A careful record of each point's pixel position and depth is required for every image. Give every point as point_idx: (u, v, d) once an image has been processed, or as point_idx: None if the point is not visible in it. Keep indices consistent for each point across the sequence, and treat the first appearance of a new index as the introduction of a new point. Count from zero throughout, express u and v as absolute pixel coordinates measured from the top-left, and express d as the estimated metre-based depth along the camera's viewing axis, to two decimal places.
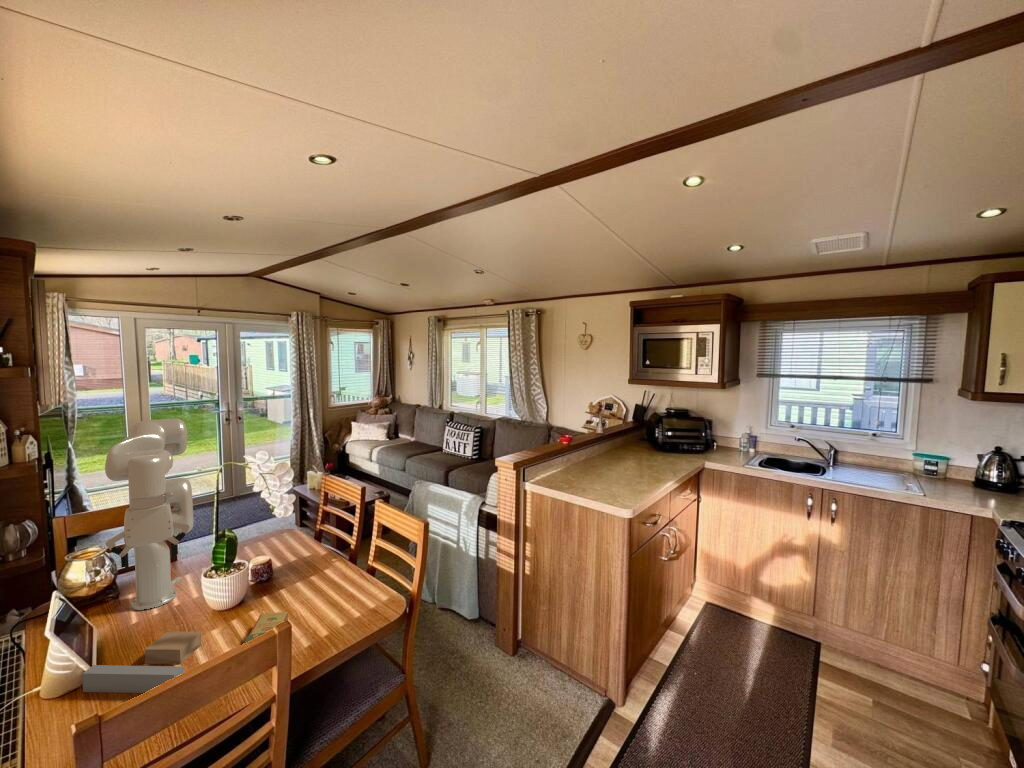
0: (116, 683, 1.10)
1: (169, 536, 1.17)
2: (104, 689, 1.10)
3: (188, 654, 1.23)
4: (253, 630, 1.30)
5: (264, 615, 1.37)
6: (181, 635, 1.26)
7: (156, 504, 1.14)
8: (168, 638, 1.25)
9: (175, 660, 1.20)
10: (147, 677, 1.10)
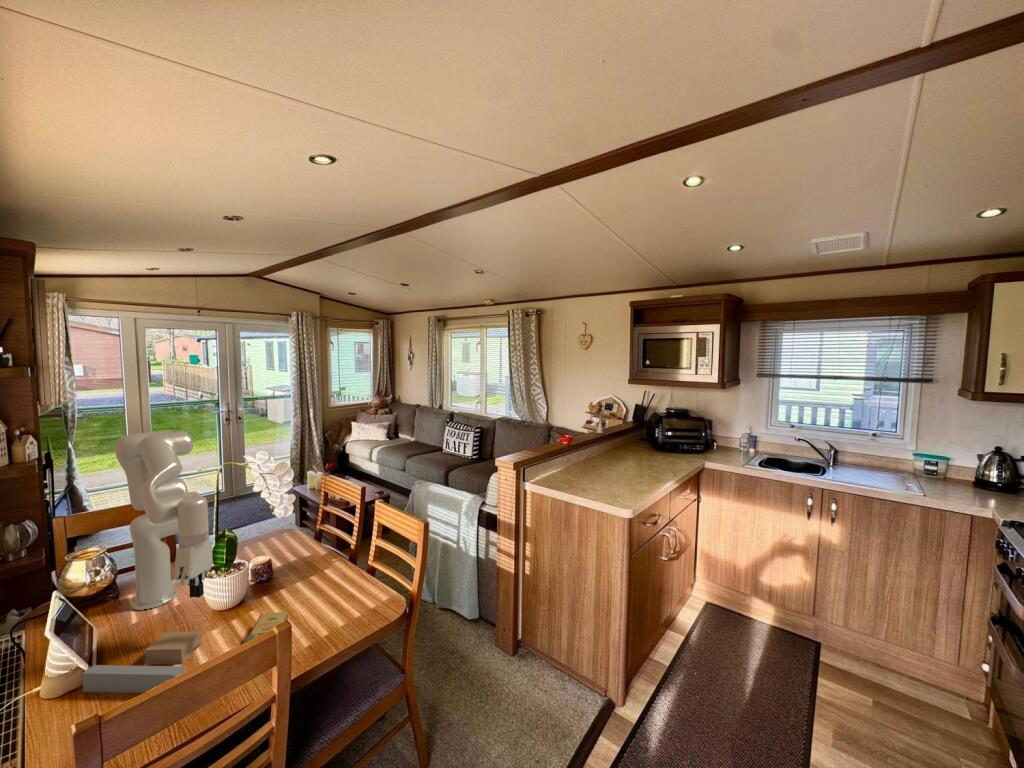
0: (116, 683, 1.10)
1: (211, 564, 1.36)
2: (104, 689, 1.10)
3: (189, 653, 1.24)
4: (253, 630, 1.30)
5: (264, 615, 1.37)
6: (181, 635, 1.26)
7: (208, 537, 1.33)
8: (167, 638, 1.25)
9: (176, 660, 1.21)
10: (147, 677, 1.10)
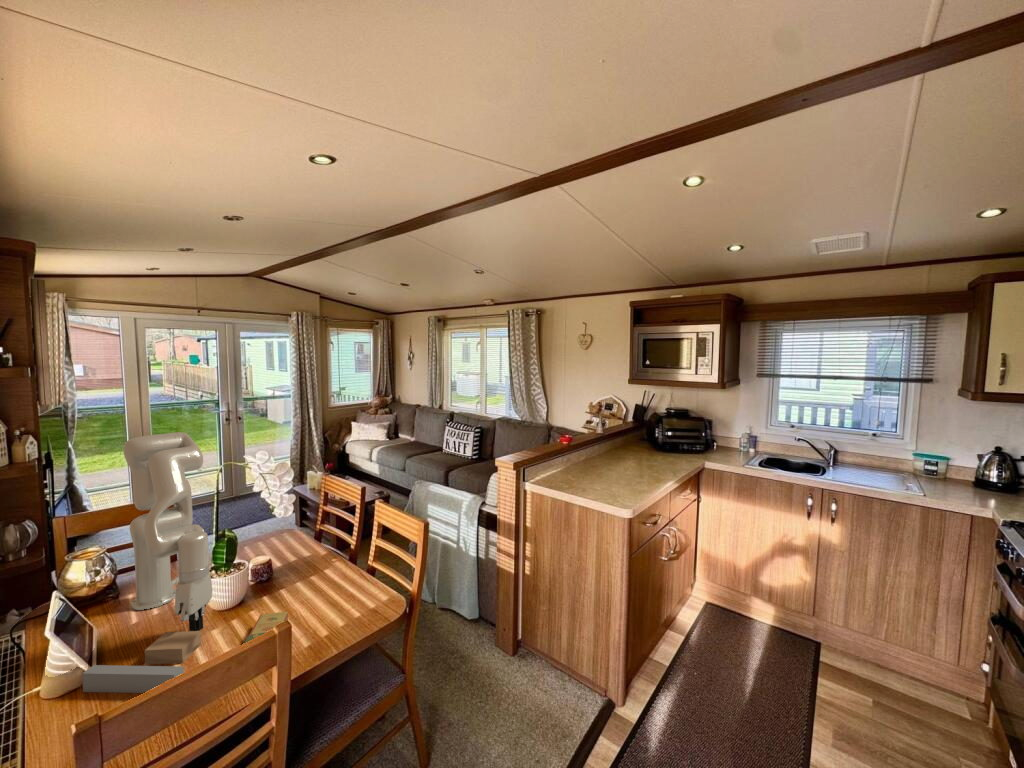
0: (116, 683, 1.10)
1: (211, 597, 1.37)
2: (104, 689, 1.10)
3: (189, 653, 1.24)
4: (253, 630, 1.30)
5: (264, 615, 1.37)
6: (181, 635, 1.26)
7: (208, 571, 1.33)
8: (167, 638, 1.25)
9: (177, 659, 1.21)
10: (147, 677, 1.10)
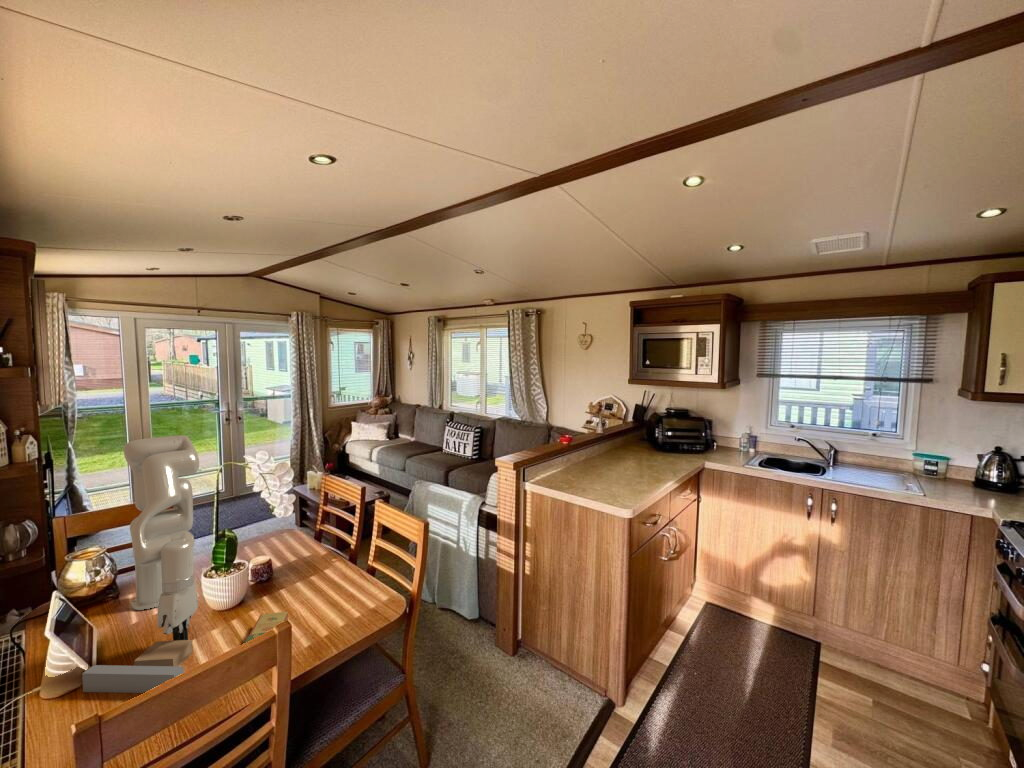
0: (116, 683, 1.10)
1: (196, 608, 1.30)
2: (104, 689, 1.10)
3: (180, 663, 1.20)
4: (253, 630, 1.30)
5: (264, 615, 1.37)
6: (172, 644, 1.23)
7: (193, 581, 1.27)
8: (157, 648, 1.21)
9: None
10: (147, 677, 1.10)
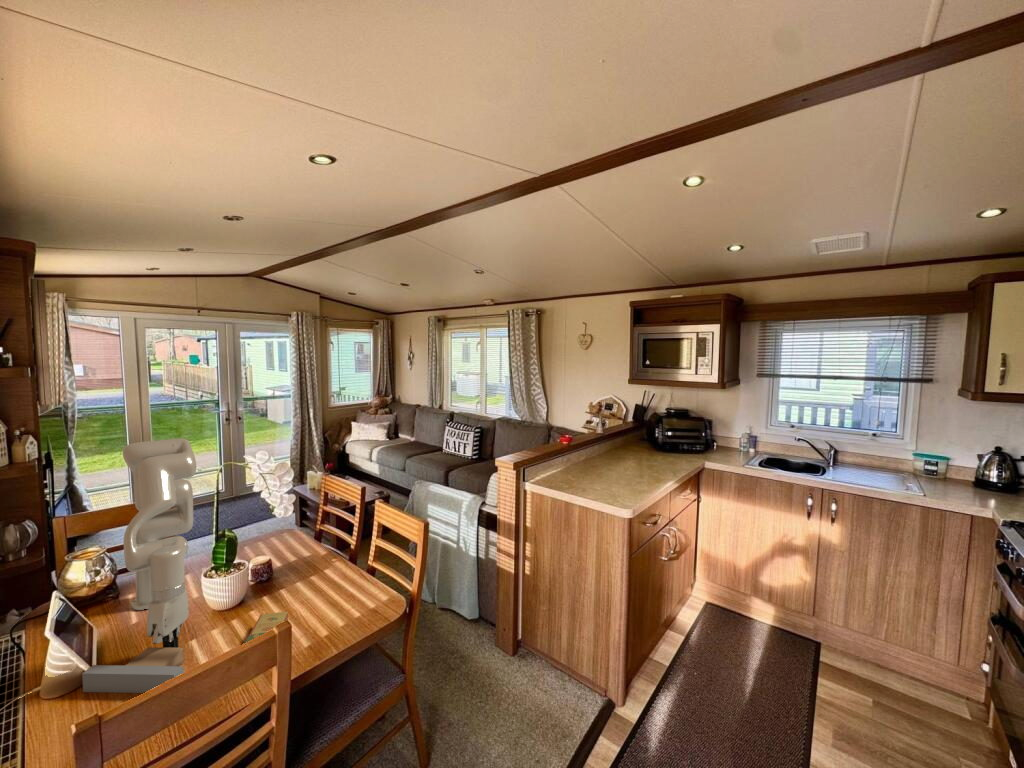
0: (116, 683, 1.10)
1: (187, 616, 1.27)
2: (104, 689, 1.10)
3: None
4: (253, 630, 1.30)
5: (264, 615, 1.37)
6: (162, 651, 1.19)
7: (184, 588, 1.23)
8: (148, 654, 1.18)
9: None
10: (147, 677, 1.10)
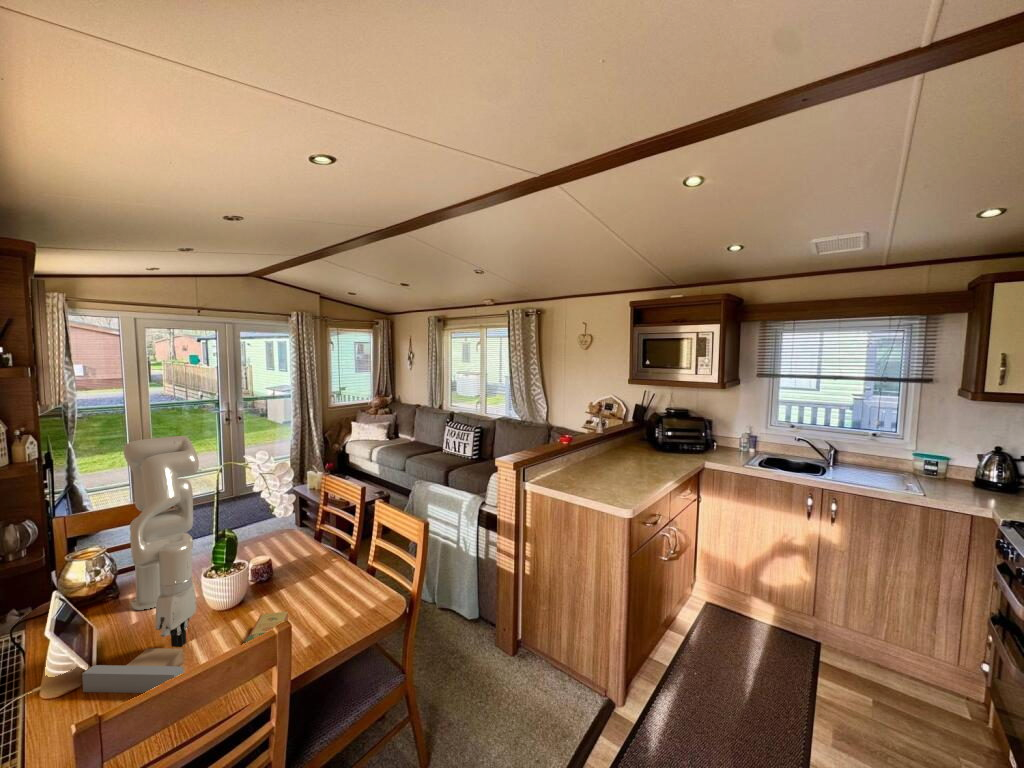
0: (116, 683, 1.10)
1: (195, 610, 1.30)
2: (104, 689, 1.10)
3: None
4: (253, 630, 1.30)
5: (264, 615, 1.37)
6: (162, 652, 1.19)
7: (192, 583, 1.27)
8: (148, 655, 1.18)
9: None
10: (147, 677, 1.10)
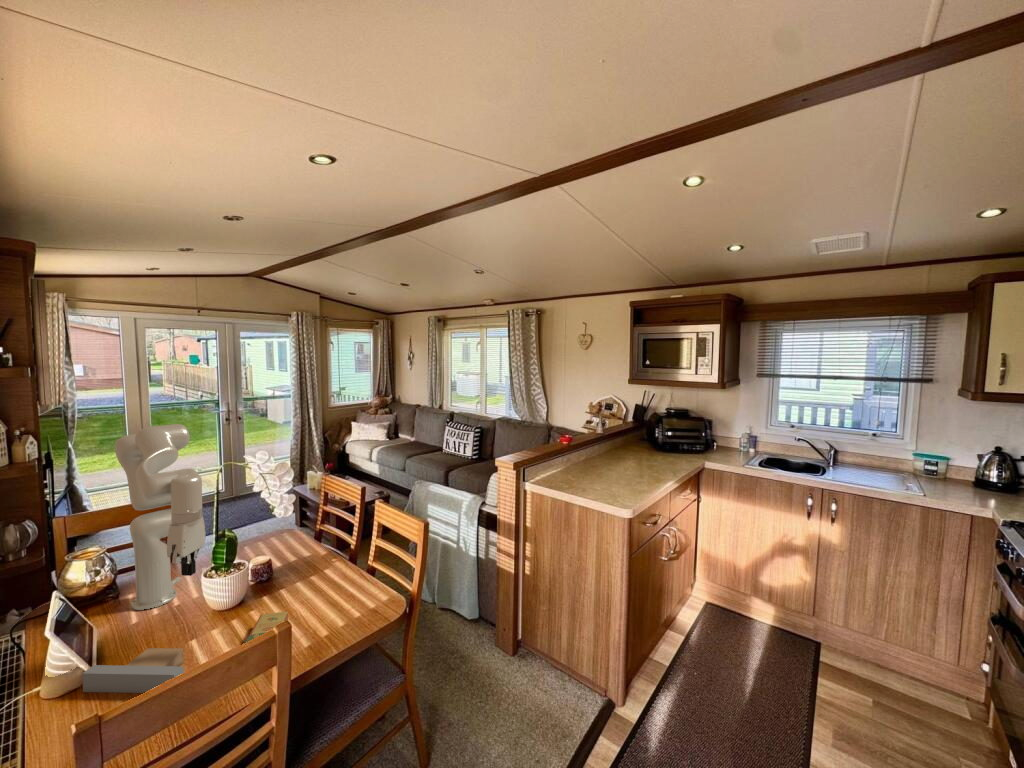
0: (116, 683, 1.10)
1: (204, 542, 1.34)
2: (104, 689, 1.10)
3: None
4: (253, 630, 1.30)
5: (264, 615, 1.37)
6: (162, 652, 1.19)
7: (202, 515, 1.31)
8: (148, 655, 1.18)
9: None
10: (147, 677, 1.10)
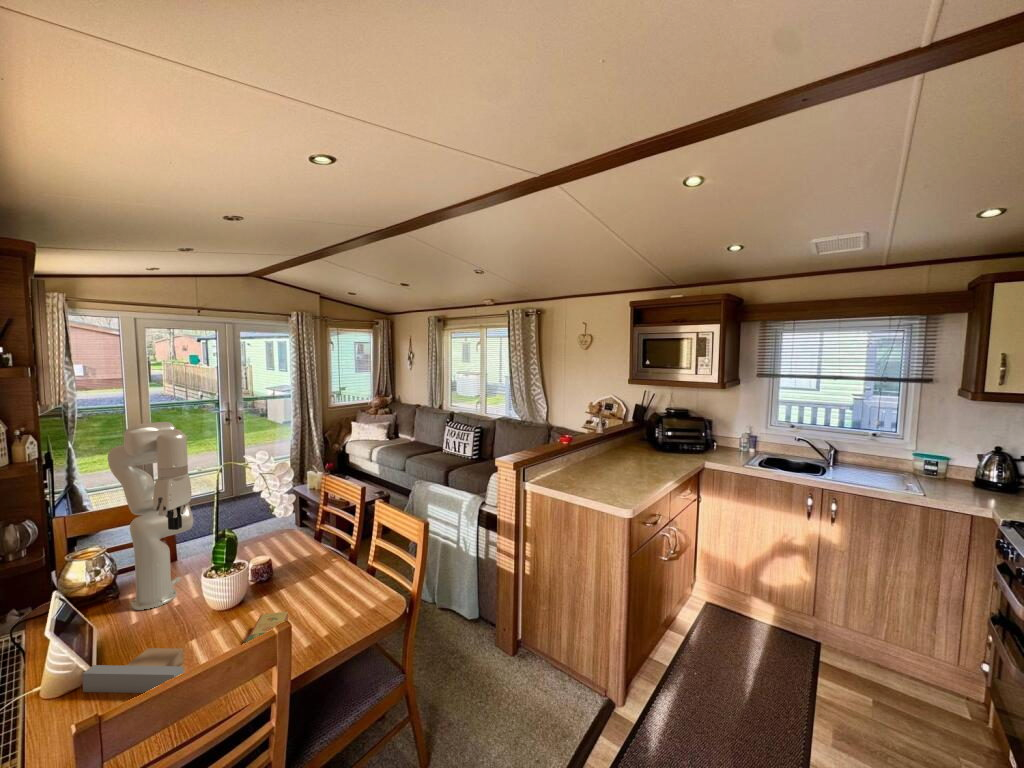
0: (116, 683, 1.10)
1: (190, 499, 1.39)
2: (104, 689, 1.10)
3: None
4: (254, 630, 1.30)
5: (264, 615, 1.37)
6: (162, 652, 1.19)
7: (187, 471, 1.36)
8: (148, 655, 1.18)
9: None
10: (147, 677, 1.10)
